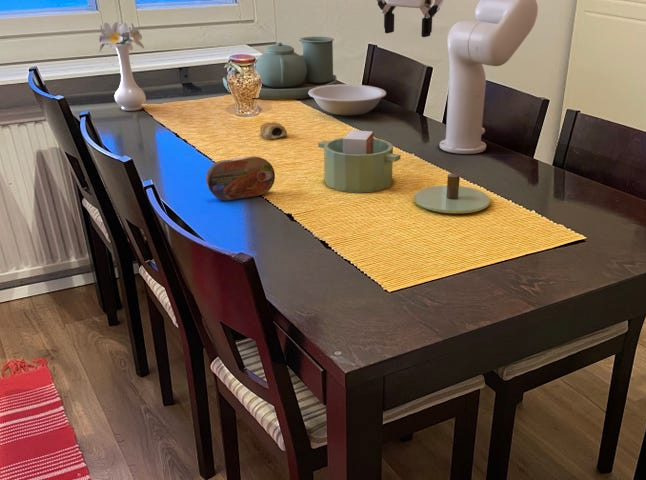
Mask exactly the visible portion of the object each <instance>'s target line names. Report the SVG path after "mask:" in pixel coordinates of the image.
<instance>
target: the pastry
mask: <svg viewBox="0 0 646 480" xmlns="http://www.w3.org/2000/svg"><path fill="white" fill-rule="evenodd" d="M259 128H260V129H259V130H260V134H261V136H262V137H263V138H264V139H265V140H270V141H271V140H276V139H282V138H284V137H286V135H287V130H286V127H285V126H284V125H282V124H281V123H279V122H275V121H274V122H265V123H263V124H260V127H259Z"/></svg>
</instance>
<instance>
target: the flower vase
mask: <svg viewBox="0 0 646 480" xmlns="http://www.w3.org/2000/svg"><path fill="white" fill-rule="evenodd" d="M99 27H100V32H101V33H100V34H99V35H98V36H97V37H98V41H99V43H100V45H99V53H100V52H101V51H102V49H103V48H104V46H105V45H106V46H108V45H109V50H110V51H114V50H116V53H117V56H118V60H119V66H120V76H121V77H120V83H119V87H118V88H117V89H116V91H115V94H114V101H115V102H116V104H117V105H119V106H120V107H121V110H122V111H126V112H127V111H129V112H134V111H139V110H142V108H143V106H142V105H144V104H145V102H146V100H147V96H146V93H145V92H144V90H143V89H141V87H139V86H138V84H137V83H136V81H135V78H134V75H133V71H132V68H131V60H130V51H132V50H133V49H134V47H133V44H132V43H134V44H135V45H136V46H139V47H140V48H142V49H145V46H144V44H143V43H142V42H141V40H142V39H143V36H142V34H141V32H140V31H139V30H138V29H136V28H135V25H134V23H133V22H131V23H130V26H129V25H128V24H127V23H126V22H122V24H121V25H120V24H119V23H118V22H117V21H116V22H114V23H113V24H112V27H111V25H110V24H109V23H108V22H104V24H103V27H102V25H101V24H100V25H99ZM103 28H104V29H103Z"/></svg>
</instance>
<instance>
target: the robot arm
mask: <svg viewBox="0 0 646 480" xmlns="http://www.w3.org/2000/svg"><path fill="white" fill-rule="evenodd" d="M433 1H434V3H433ZM376 2H377V6H378V7H379V9H380V10H381V13H382V14H383V19H384V20H383V28H384V34H391V33H394V31H395V13H393V11H394V10H395V9H396V7H399V8H410V9H412V8H413V9H419V10H420V11H421V13H422V15H423V17H422V19H421V32H420V33H421V37H422V38H428V37H430V36H431V33H432V31H433V18H434V17H435V15H436V14H437V13H438V12H439V11H440V10H441V7H442V5H443V2H444V0H376ZM432 4H433V5H432ZM538 6H539V5H538V3H537V0H479V1H478V3H477V5H476V7H475V10H474V18H475V20H473V19H463V20H460V21H457V22H456V23H455V24H453V25H452V27H450V29H449V31H448V34H447V39H446V40H447V42H446V45H447V46H446V47H447V55H448V66H449V69H448V70H449V74H448V75H449V76H448V90H447V107H446V108H447V109H446V111H447V112H446V126H445V139H441V141H439V148H440V149H441V150H443V151H444V152H447V153H452V154H457V155H460V154H461V155H473V154H479V153H483V152H484V151H486V149H487V144H486V142H484V141H482V135H484V134H485V133H486V129H485V128H484V127H483V121H484V110H485V109H484V108H485V98H486V97H485V96H486V86H487V78H486V72H485V69H484V65H485V66H490V67H491V66H492V67H499V66H502V65H505V64H506V63H507V62H508V61H510V59H511V58H512V57H513V56H514V54H515V53H516V52H517V50H518V49H519V47H520V46H521V45H522V44H523V42H524V41H525V40H526V38H527V37H528V36H529V34H530V33H531V31H532V30H533V28H534V26H535V24H536V21H537V17H538V10H539V9H538Z"/></svg>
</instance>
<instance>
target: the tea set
mask: <svg viewBox="0 0 646 480" xmlns="http://www.w3.org/2000/svg"><path fill="white" fill-rule="evenodd" d="M298 40H299V42H300V43H301V46H302V54H299V53H297V52H295V48H294V47H293V46H291V45H287V44H283V43H282V42H281V41H279V42H277V43H276V44H272V45H268V46H267V47H266V48H265V52H263V53H262V54H261V55H259V56H258V57H259V58H258V59H257V60H256V62H255V68H256V70H257V72H258V73H259V75H260V76H261V79H262V87H261V90H260V93H259V97H258V100H270V101H282V100H283V101H285V100H303V99H310V98H312V97H311V96H310V95H309V94H308V92H309V90H311V89H313V88H316V87H320V86H326V85H337V84H338V79H337V75H336V74H334V51H333V50H334V49H333V48H334V47H333V46H334V45H333V43H334V41H335V39H334V38H333V37H329V36H305V37H298ZM226 64H227V63H225V64H224V67H226ZM222 84H223V85H224V88H225V89H226V90H227V92H228V93H230V91H229V89H228V86H227V80H226V76H224V77H223V78H222ZM230 94H231V93H230Z"/></svg>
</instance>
